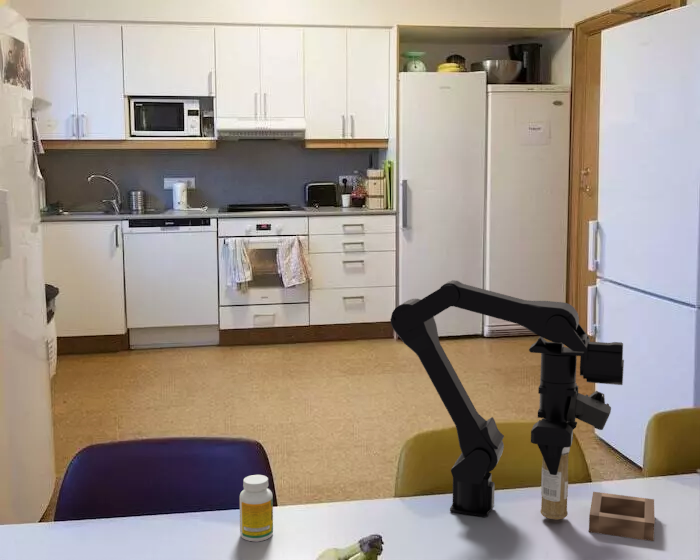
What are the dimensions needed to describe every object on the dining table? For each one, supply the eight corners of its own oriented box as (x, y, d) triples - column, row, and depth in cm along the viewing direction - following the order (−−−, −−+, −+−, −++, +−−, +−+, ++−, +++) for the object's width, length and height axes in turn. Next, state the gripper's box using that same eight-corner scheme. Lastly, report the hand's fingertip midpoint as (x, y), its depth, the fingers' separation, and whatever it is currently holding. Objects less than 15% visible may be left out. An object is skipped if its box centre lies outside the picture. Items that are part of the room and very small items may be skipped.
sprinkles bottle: (573, 516, 138) (576, 439, 136) (554, 522, 135) (557, 445, 133) (552, 507, 141) (555, 432, 140) (534, 513, 139) (536, 437, 137)
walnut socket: (588, 532, 134) (589, 514, 133) (592, 507, 143) (593, 491, 142) (653, 541, 130) (654, 523, 130) (653, 516, 140) (654, 499, 139)
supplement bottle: (236, 531, 134) (234, 476, 133) (266, 525, 137) (265, 470, 135) (246, 545, 130) (245, 487, 128) (278, 538, 132) (277, 481, 130)
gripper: (606, 399, 124) (602, 497, 126) (611, 370, 141) (607, 456, 143) (531, 392, 127) (528, 487, 129) (545, 365, 145) (542, 449, 147)
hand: (554, 469), depth 137 cm, fingers closed on sprinkles bottle, 4 cm apart
